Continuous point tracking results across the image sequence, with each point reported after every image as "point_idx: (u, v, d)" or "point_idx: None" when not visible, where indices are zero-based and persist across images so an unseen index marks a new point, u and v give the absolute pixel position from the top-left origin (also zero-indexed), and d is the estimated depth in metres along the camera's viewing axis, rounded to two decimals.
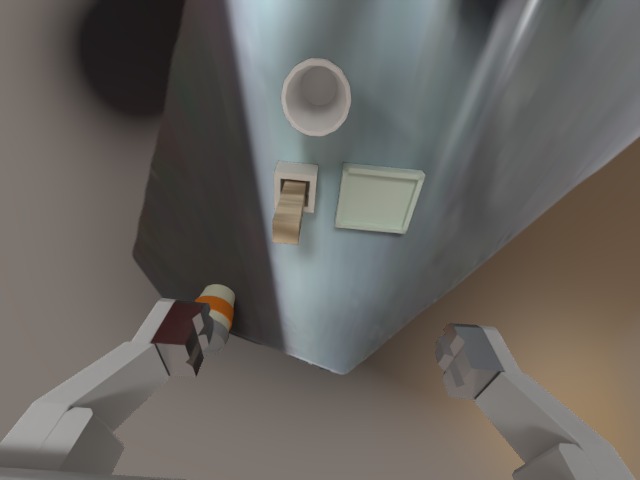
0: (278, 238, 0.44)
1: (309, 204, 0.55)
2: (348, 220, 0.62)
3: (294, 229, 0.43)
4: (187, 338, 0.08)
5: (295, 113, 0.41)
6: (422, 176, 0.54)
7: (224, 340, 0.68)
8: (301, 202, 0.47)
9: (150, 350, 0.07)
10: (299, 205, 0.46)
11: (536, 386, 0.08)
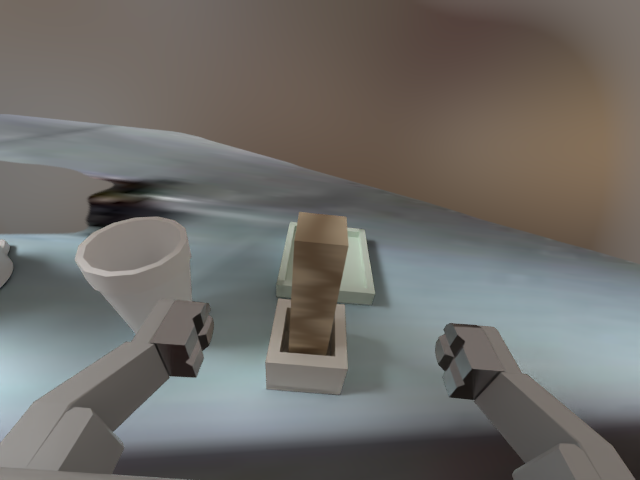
0: (336, 237, 0.21)
1: None
2: (362, 284, 0.42)
3: (312, 217, 0.23)
4: (187, 338, 0.08)
5: None
6: (291, 223, 0.51)
7: None
8: None
9: (150, 350, 0.07)
10: None
11: (536, 386, 0.08)
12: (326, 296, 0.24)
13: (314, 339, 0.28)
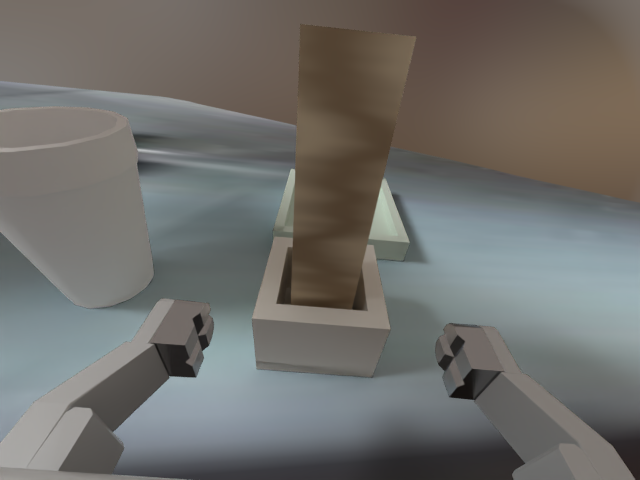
0: None
1: None
2: (389, 235, 0.31)
3: None
4: (187, 338, 0.08)
5: None
6: (292, 170, 0.40)
7: None
8: None
9: (150, 350, 0.07)
10: None
11: (536, 386, 0.08)
12: (360, 185, 0.13)
13: (333, 282, 0.17)
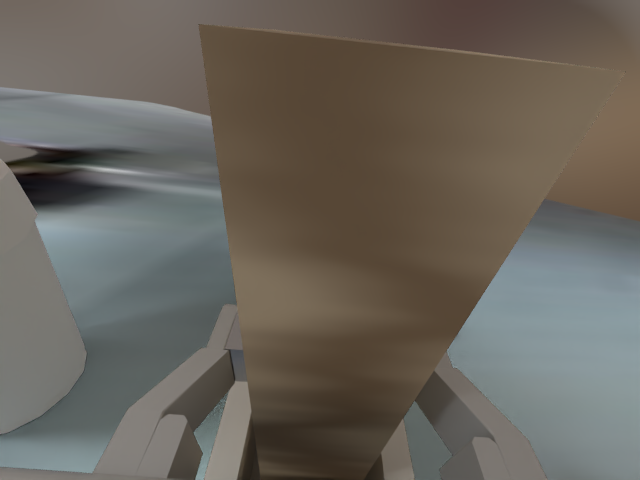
0: (491, 55, 0.03)
1: None
2: None
3: None
4: None
5: None
6: None
7: None
8: None
9: (225, 356, 0.08)
10: None
11: (465, 380, 0.08)
12: (386, 372, 0.06)
13: (329, 464, 0.10)
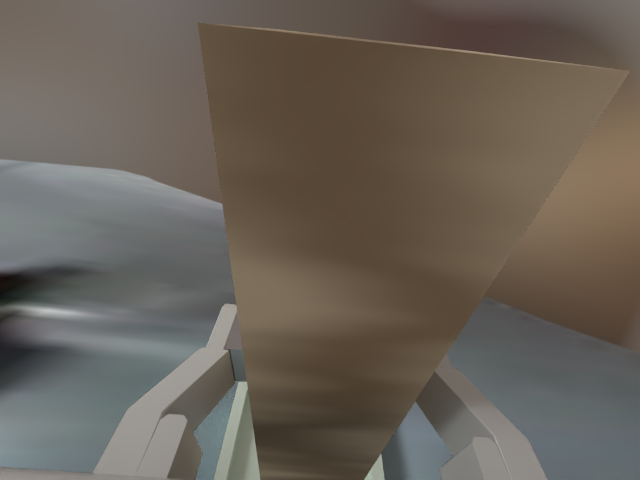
0: None
1: None
2: None
3: (327, 35, 0.05)
4: None
5: None
6: (240, 384, 0.28)
7: None
8: None
9: (225, 356, 0.08)
10: None
11: (465, 380, 0.08)
12: (385, 373, 0.06)
13: (329, 465, 0.10)
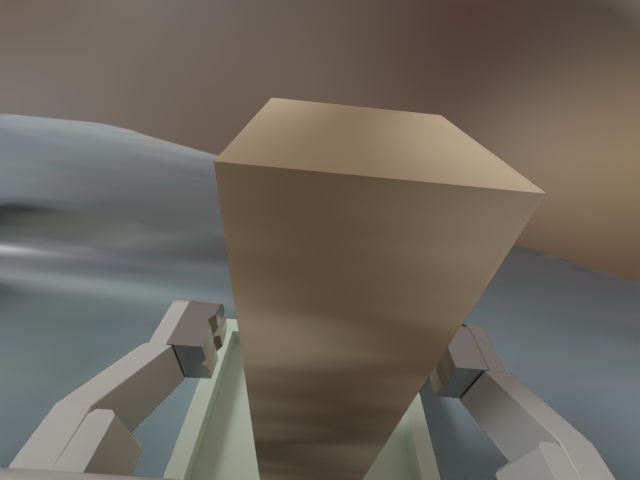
0: (449, 159, 0.04)
1: None
2: None
3: (319, 109, 0.06)
4: (204, 339, 0.08)
5: None
6: None
7: None
8: None
9: (167, 351, 0.07)
10: None
11: (520, 384, 0.08)
12: (372, 399, 0.07)
13: (324, 475, 0.11)
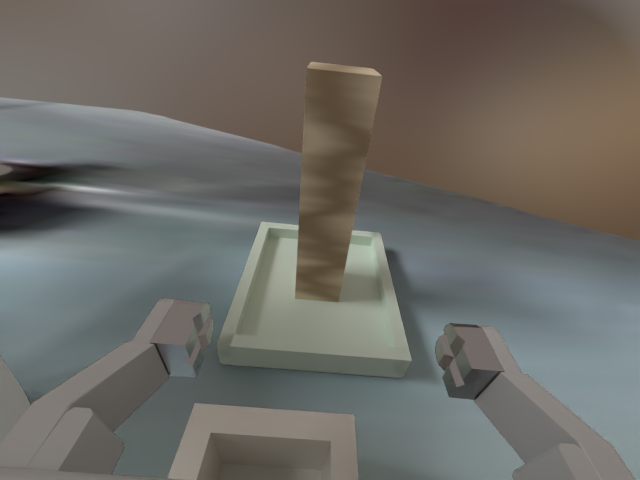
0: (364, 72, 0.15)
1: (317, 434, 0.13)
2: (384, 334, 0.23)
3: (328, 64, 0.17)
4: (187, 338, 0.08)
5: None
6: (263, 224, 0.32)
7: None
8: None
9: (150, 350, 0.07)
10: None
11: (536, 386, 0.08)
12: (348, 174, 0.18)
13: (329, 250, 0.22)
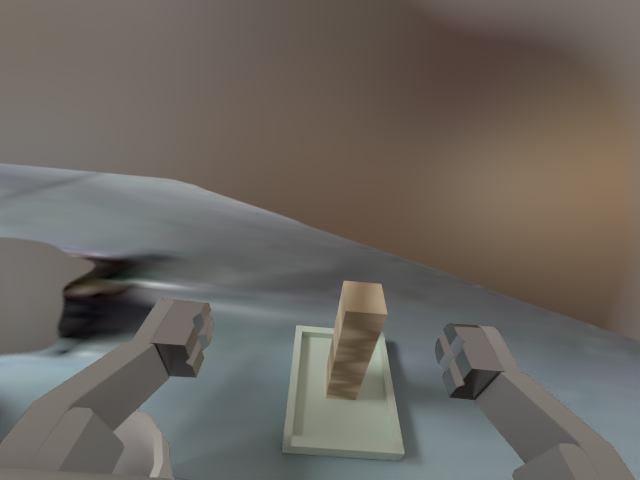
0: (376, 306, 0.27)
1: None
2: (386, 428, 0.35)
3: (354, 286, 0.29)
4: (187, 338, 0.08)
5: None
6: (297, 328, 0.44)
7: None
8: (336, 320, 0.33)
9: (150, 350, 0.07)
10: (337, 316, 0.32)
11: (536, 386, 0.08)
12: (365, 347, 0.30)
13: (351, 377, 0.34)
